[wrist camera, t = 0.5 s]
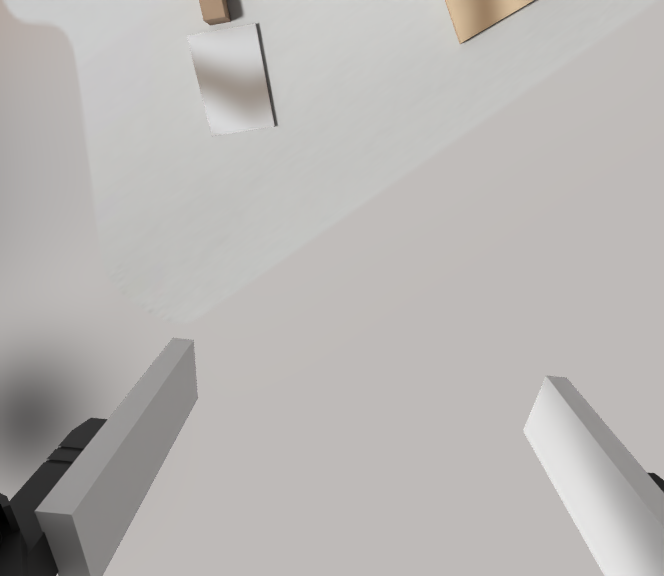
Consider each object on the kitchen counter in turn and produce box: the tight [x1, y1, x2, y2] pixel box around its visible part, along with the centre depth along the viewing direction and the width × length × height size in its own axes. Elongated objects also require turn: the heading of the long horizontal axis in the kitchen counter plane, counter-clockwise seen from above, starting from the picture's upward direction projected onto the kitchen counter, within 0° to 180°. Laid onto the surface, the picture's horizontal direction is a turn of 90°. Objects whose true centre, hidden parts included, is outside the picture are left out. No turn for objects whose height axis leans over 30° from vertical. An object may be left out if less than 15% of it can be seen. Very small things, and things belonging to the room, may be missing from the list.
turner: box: [187, 0, 275, 136], centre depth 30 cm, size 18×6×2 cm, turn 8°
